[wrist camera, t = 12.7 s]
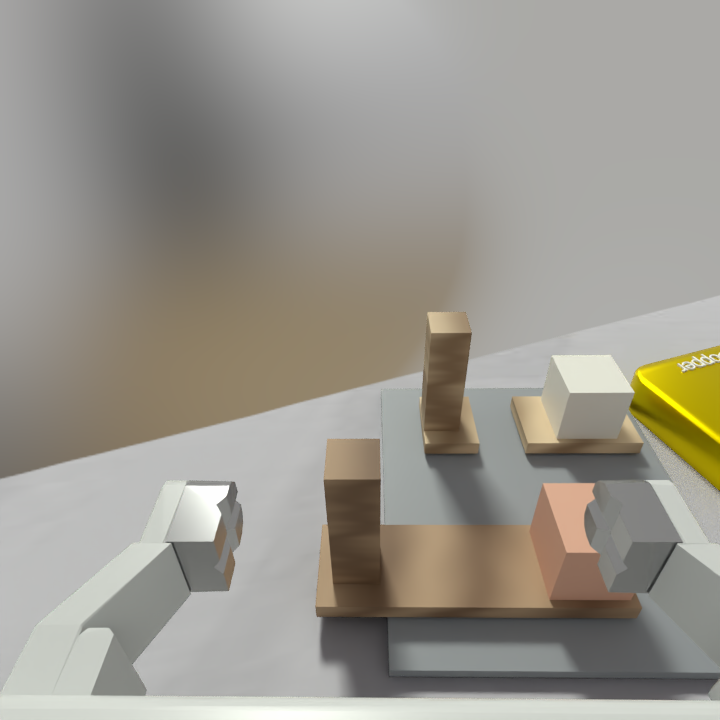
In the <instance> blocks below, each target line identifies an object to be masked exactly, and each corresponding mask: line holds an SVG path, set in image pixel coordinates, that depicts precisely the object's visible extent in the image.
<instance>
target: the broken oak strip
mask: <svg viewBox="0 0 720 720" xmlns="http://www.w3.org/2000/svg"><path fill="white" fill-rule="evenodd" d="M471 334H472V332H471V329H470V325H469V322H468V318H467V315H466V312H428V313H427V327H426V343H425V357H424V371H423V385H422V397H420V400H419V410H420V419H421V428H422V436H423V445H424V453H425V454H477V453H478V450H479V444H480V443H479V439H478V435H477V430H476V426H475V422H474V418H473V414H472V409H471V405H470V401H469V397H463V396H464V388H465V381H466V373H467V365H468V357H469V350H470V342H471ZM541 397H542V396H512V399H511V404H510V408H511V411H512V414H513V417H514V420H515V423H516V426H517V429H518V432H519V435H520V438H521V441H522V444H523V447H524V450H525V453H640V451H641V449H642V446H643V444H644V442H643V441H642V439H641V437H640V436H639V434H638V432H637V430H636V429H635V427H634V425H633V424H632V422H631V420H630V419H629V417H628V415H627V414H626V417H625V419H624V422H623V425H622V427H621V430H620V432H619V435H618V438H617V439H557V438H556V436H555V434H554V431H553V429H552V426H551V424H550V421H549V419H548V416H547V414H546V412H545V409H544V407H543V404H542V402H541Z"/></svg>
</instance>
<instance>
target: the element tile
mask: <svg viewBox="0 0 720 720" xmlns="http://www.w3.org/2000/svg"><path fill="white" fill-rule="evenodd" d="M630 386H631V388H632V389H633V391H634V392H635V393H634V396H633V399H632V401H631V404H630V406H629V411H630V413H631V414H632V415H633V416H634V417H635V418H636V419H638V420H639V421H640V422H641V423H642V424H643V425H645V426H646V427H647V428H648V429H649V430H650V431H651V432H653V433H654V434H655V435H656V436H657V437H658V438H659V439H661V440H662V441H663V442H664V443H665V444H666V445H667V446H669V447H670V448H671V449H672V450H673V451H674V452H676V453H677V454H678V455H679V456H680V457H681V458H682V459H684V460H685V461H686V462H687V463H688V464H689V465H690V466H692V467H693V468H694V469H695V470H696V471H697V472H698V473H700V474H701V475H702V476H703V477H704V478H705V479H707V480H708V481H709V482H710V483H711V484H712V485H713V486H715V487H716V488H717V489H718V490H719V491H720V346H716V347H712V348H708V349H704V350H701V351H697V352H693V353H689V354H685V355H681V356H677V357H674V358H670V359H666V360H662V361H658V362H654V363H650V364H647V365H643V366H641V367H639V368H638V369H637V370H636V371H635V374H634V376H633V379H632V382H631V384H630Z"/></svg>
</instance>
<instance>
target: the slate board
mask: <svg viewBox="0 0 720 720" xmlns="http://www.w3.org/2000/svg"><path fill="white" fill-rule="evenodd" d="M543 389H544V388H486V389H464V396H463V397H469V401H470V405H471V409H472V414H473V418H474V422H475V426H476V430H477V435H478V439H479V443H480V444H479V450H478V453H477V454H425V453H424V445H423V436H422V428H421V419H420V410H419V400H420V397H422V389H381V407H382V443H383V478H384V513H385V525H531V523H532V519H533V516H534V512H535V509H536V505H537V502H538V498H539V495H540V491H541V488H542V484H543V483H597V482H598V481H599V480H669V481H671V482H672V480H671V479H670V477H669V475H668V474H667V472H666V470H665V469H664V467H663V466H662V464H661V462H660V461H659V459H658V457H657V456H656V454H655V452H654V451H653V449H652V447H651V446H650V444H649V442H648V441H647V439H646V437H645V436H644V434H643V432H642V431H641V429H640V427H639V426H638V424H637V422H636V421H635V419H634V418H633V416H632V414H631V413H630V411H629V409H628V412H627V415H628V417H629V419H630V420H631V422H632V424H633V425H634V427H635V429H636V430H637V432H638V434H639V436H640V437H641V439H642V441H643V442H644V444H643V446H642V449H641V451H640V453H525V450H524V447H523V444H522V441H521V438H520V435H519V432H518V429H517V426H516V423H515V420H514V417H513V414H512V411H511V408H510V404H511V399H512V396H542V393H543ZM672 483H673V482H672ZM648 594H649V593H636V595H637V597H638V599H639V602H640V604H641V606H642V610H641V612H640V613H639V615H638V617H637V618H469V617H387V619H388V654H389V676H407V677H536V678H666V679H719V678H720V668H719V667H718V666H717V665H716V664H715V663H714V662H713V661H712V660H711V659H710V658H709V657H708V656H707V655H706V654H705V653H704V652H703V651H702V650H701V649H700V648H699V647H698V645H697V644H696V643H695V642H694V641H693V640H692V639H691V638H690V637H689V636H688V635H687V634H686V633H685V632H684V631H683V630H682V629H681V628H680V627H679V626H678V625H677V624H676V623H675V622H674V621H673V620H672V619H671V618H670V617H669V616H668V615H667V614H666V613H665V612H664V611H663V610H662V609H661V608H660V607H659V606H658V605H657V604H656V603H655V602H654V601H653V600H652V599H651V598H650V597H649V596H648Z"/></svg>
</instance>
